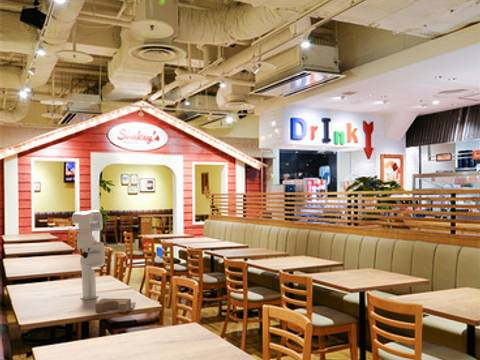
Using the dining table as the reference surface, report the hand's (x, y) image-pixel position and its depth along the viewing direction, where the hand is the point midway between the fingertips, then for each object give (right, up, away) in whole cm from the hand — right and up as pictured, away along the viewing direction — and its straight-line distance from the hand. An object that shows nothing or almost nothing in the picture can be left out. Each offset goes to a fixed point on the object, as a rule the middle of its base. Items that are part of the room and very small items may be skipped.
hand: (85, 258), depth 320 cm
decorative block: (+13, -29, -14) cm, 34 cm away
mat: (+25, -32, -7) cm, 41 cm away
